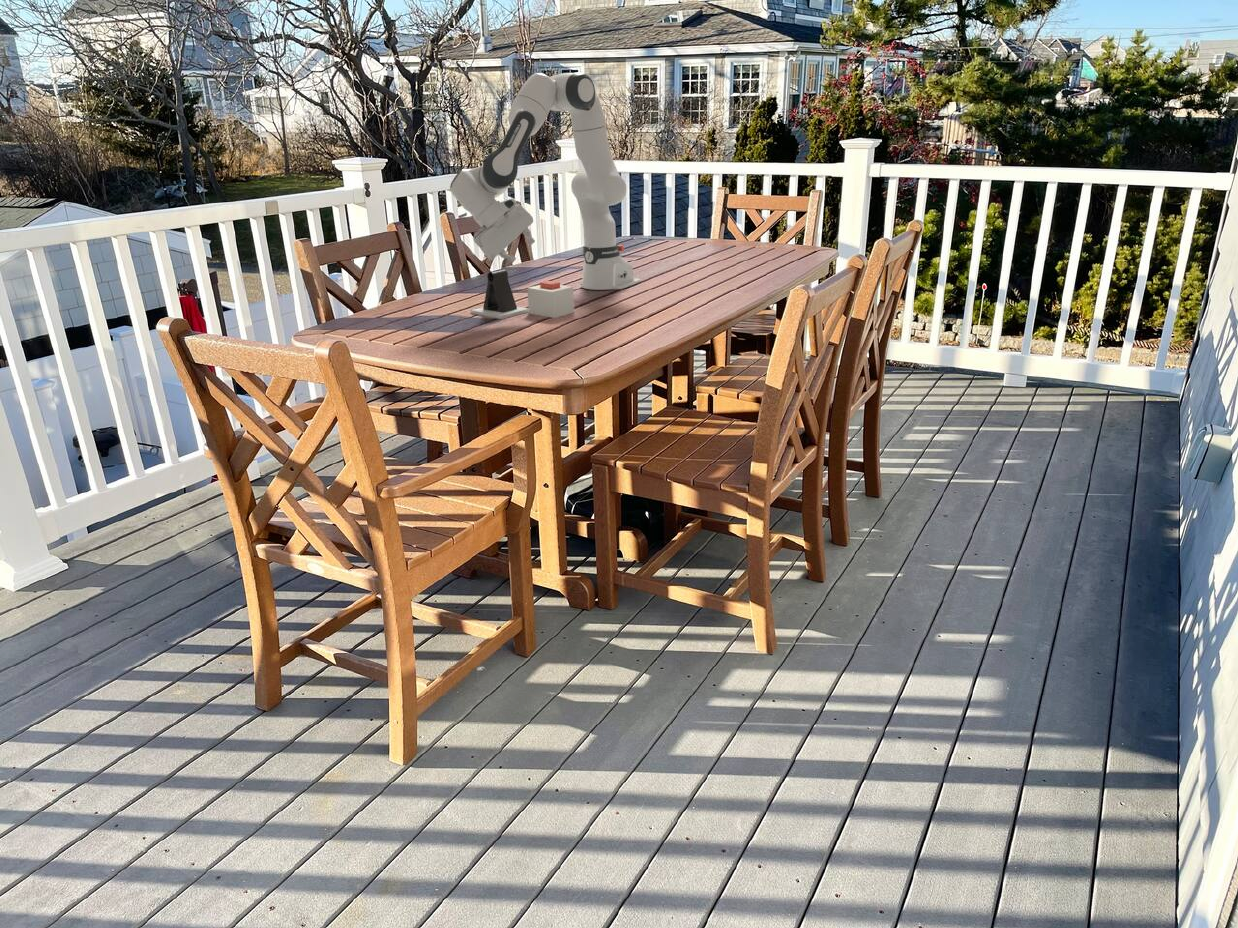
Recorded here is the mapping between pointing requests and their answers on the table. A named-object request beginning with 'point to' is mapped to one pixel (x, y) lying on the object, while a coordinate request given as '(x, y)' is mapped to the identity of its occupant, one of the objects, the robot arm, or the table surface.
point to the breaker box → (551, 301)
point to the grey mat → (499, 314)
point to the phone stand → (499, 293)
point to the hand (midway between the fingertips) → (523, 252)
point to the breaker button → (550, 285)
